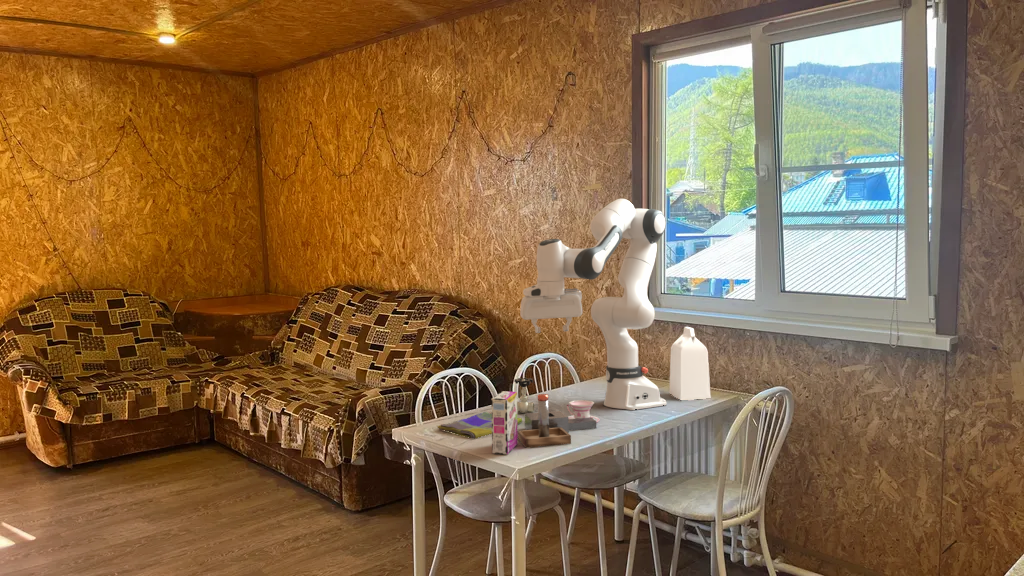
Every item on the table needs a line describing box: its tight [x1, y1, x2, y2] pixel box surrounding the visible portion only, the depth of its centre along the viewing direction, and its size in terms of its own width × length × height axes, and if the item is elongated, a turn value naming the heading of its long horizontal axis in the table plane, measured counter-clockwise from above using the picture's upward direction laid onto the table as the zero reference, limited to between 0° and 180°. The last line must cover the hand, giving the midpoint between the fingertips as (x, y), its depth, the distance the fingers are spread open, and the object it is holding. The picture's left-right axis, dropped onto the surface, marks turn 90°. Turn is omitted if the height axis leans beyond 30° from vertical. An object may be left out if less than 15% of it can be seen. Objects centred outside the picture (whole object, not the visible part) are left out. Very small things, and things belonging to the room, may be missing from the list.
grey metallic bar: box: [537, 393, 550, 438], centre depth 235 cm, size 3×3×14 cm
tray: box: [518, 427, 572, 448], centre depth 235 cm, size 14×10×2 cm
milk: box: [668, 326, 712, 401], centre depth 289 cm, size 12×12×26 cm
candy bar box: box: [491, 390, 519, 456], centre depth 228 cm, size 11×5×16 cm, turn 163°
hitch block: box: [524, 410, 597, 434], centre depth 249 cm, size 22×9×5 cm, turn 103°
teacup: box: [566, 399, 600, 424], centre depth 259 cm, size 12×12×6 cm
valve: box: [513, 377, 535, 414], centre depth 271 cm, size 7×7×12 cm
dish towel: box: [436, 411, 523, 439], centre depth 254 cm, size 18×24×3 cm
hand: (551, 331), depth 251 cm, fingers open, 8 cm apart
